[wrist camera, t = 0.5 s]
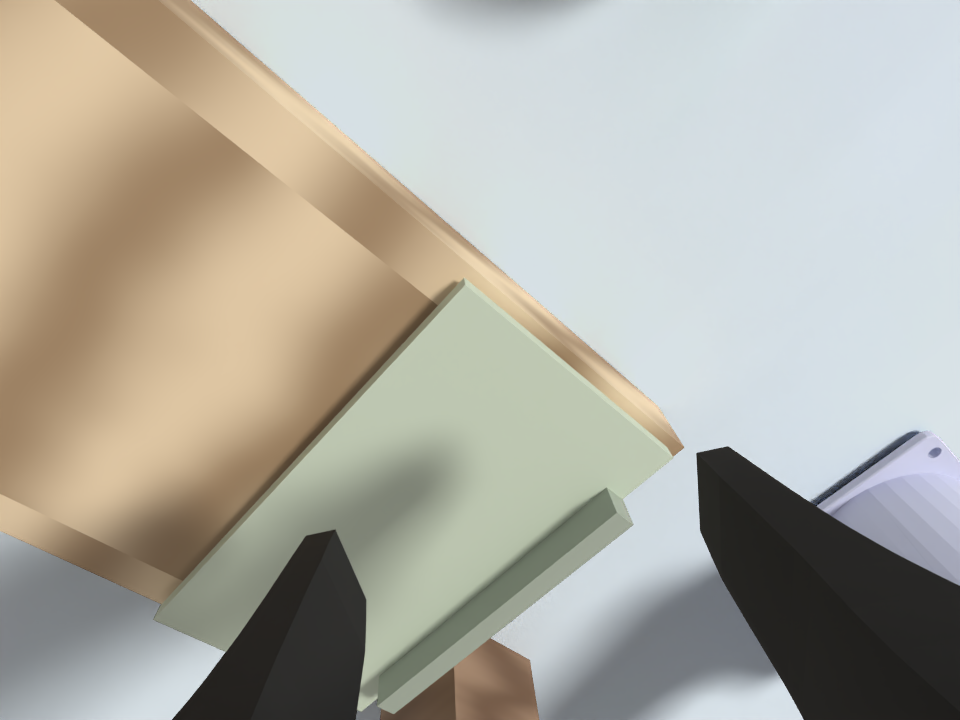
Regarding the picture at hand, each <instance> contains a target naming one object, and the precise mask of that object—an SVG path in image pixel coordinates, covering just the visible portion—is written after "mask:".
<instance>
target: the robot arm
mask: <svg viewBox="0 0 960 720" xmlns="http://www.w3.org/2000/svg"><path fill="white" fill-rule="evenodd" d="M697 474H698V494H699V515H700V531H701V534H702V536H703V538H704V540H705V543H706V545H707V547H708V550H709V552H710V554H711V557H712V559H713V561H714V563H715V565H716V567H717V570H718V572H719V574H720V576H721V578H722V580H723V582H724V584H725V585H726V587H727V589H728V591H729V592H730V594H731V596H732V597H733V599H734V601H735V602H736V604H737V606H738V607H739V609H740V611H741V613H742V614H743V616H744V618H745V619H746V621H747V623H748V624H749V626H750V628H751V629H752V631H753V633H754V634H755V636H756V638H757V639H758V641H759V643H760V644H761V646H762V648H763V649H764V651H765V653H766V654H767V656H768V658H769V659H770V661H771V663H772V664H773V666H774V668H775V669H776V671H777V673H778V674H779V676H780V678H781V679H782V681H783V683H784V684H785V686H786V688H787V689H788V691H789V693H790V695H791V697H792V699H793V700H794V702H795V704H796V706H797V708H798V710H799V711H800V713H801V715H802V717H803V719H804V720H960V461H959V459H958V458H957V457H956V456H955V455H954V454H953V453H952V451H951V450H950V449H949V448H948V447H947V446H946V444H945V443H944V442H943V441H942V440H941V439H940V438H939V437H938V436H937V435H935V434H934V433H933V432H931V431H924V432H920V433H918V434H917V435H915V436H914V437H912V438H911V439H910V440H908V441H907V442H905V443H904V444H903V445H901V446H900V447H898V448H897V449H896V450H894V451H893V452H891V453H890V454H889V455H887V456H886V457H884V458H883V459H882V460H880V461H879V462H877V463H876V464H875V465H873V466H872V467H870V468H869V469H868V470H866V471H865V472H863V473H862V474H861V475H859V476H858V477H856V478H855V479H854V480H852V481H851V482H849V483H848V484H847V485H845V486H844V487H842V488H841V489H840V490H838V491H837V492H835V493H834V494H833V495H831V496H830V497H828V498H827V499H826V500H824V501H823V502H821V503H820V504H819V505H817V506H815V505H813V504H812V503H810V502H809V501H807V500H806V499H804V498H803V497H801V496H800V495H798V494H797V493H795V492H794V491H792V490H791V489H789V488H788V487H786V486H785V485H783V484H782V483H780V482H779V481H777V480H776V479H774V478H773V477H772V476H770V475H769V474H767V473H766V472H764V471H763V470H761V469H760V468H759V467H757V466H756V465H754V464H753V463H751V462H750V461H749V460H747V459H746V458H744V457H743V456H741V455H740V454H738V453H737V452H735V451H734V450H732V449H731V448H730V447H723V448H718V449H713V450H709V451H704V452H699V453H697ZM365 644H366V597H365V595H364V593H363V591H362V588H361V586H360V584H359V582H358V579H357V577H356V575H355V573H354V570H353V568H352V566H351V563H350V561H349V559H348V557H347V554H346V552H345V550H344V548H343V545H342V543H341V541H340V539H339V536H338V534H337V532H336V529H335V530H330V531H326V532H321V533H316V534H311V535H307V536H305V538H304V539H303V541H302V542H301V544H300V545H299V546H298V548H297V549H296V551H295V552H294V554H293V555H292V557H291V558H290V560H289V561H288V563H287V564H286V566H285V567H284V569H283V570H282V572H281V573H280V575H279V576H278V578H277V580H276V581H275V583H274V584H273V586H272V587H271V589H270V590H269V592H268V593H267V595H266V596H265V598H264V599H263V600H262V602H261V603H260V605H259V606H258V608H257V609H256V611H255V612H254V614H253V615H252V616H251V618H250V619H249V621H248V622H247V624H246V625H245V627H244V628H243V629H242V631H241V632H240V634H239V635H238V637H237V638H236V639H235V641H234V642H233V643H232V645H231V646H230V647H229V649H228V650H227V651H226V653H225V654H224V655H223V657H222V658H221V659H220V661H219V662H218V663H217V665H216V666H215V667H214V669H213V670H212V671H211V673H210V674H209V675H208V677H207V678H206V679H205V681H204V682H203V683H202V684H201V686H200V687H199V688H198V689H197V691H196V692H195V693H194V694H193V695H192V697H191V698H190V699H189V700H188V701H187V703H186V704H185V705H184V706H183V708H182V709H181V710H180V711H179V712H178V713H177V714H176V716H175V717H174V718H173V719H172V720H356V713H357V706H358V700H359V693H360V686H361V679H362V672H363V665H364V657H365Z"/></svg>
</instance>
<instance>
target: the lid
mask: <svg viewBox="0 0 960 720" xmlns="http://www.w3.org/2000/svg"><path fill="white" fill-rule="evenodd" d="M672 459H673V456H672V455H671V453H670V451H669V450H668V448H667V447H666V446H665V445H664V444H663V443H662V442H661V441H659V440H658V439H657V438H656V437H655V436H653V435H652V434H651V433H650V432H649V431H647V430H646V429H645V428H644V427H643V426H641V425H640V424H639V423H638V422H637V421H635V420H634V419H633V418H632V417H631V416H629V415H628V414H627V413H626V412H625V411H623V410H622V409H621V408H620V407H619V406H617V405H616V404H615V403H614V402H613V401H612V400H610V399H609V398H608V397H607V396H606V395H604V394H603V393H602V392H601V391H600V390H598V389H597V388H596V387H595V386H594V385H592V384H591V383H590V382H589V381H588V380H586V379H585V378H584V377H583V376H582V375H580V374H579V373H578V372H577V371H576V370H574V369H573V368H572V367H571V366H570V365H568V364H567V363H566V362H565V361H564V360H563V359H561V358H560V357H559V356H558V355H557V354H555V353H554V352H553V351H552V350H551V349H549V348H548V347H547V346H546V345H545V344H543V343H542V342H541V341H540V340H539V339H537V338H536V337H535V336H534V335H533V334H531V333H530V332H529V331H528V330H527V329H525V328H524V327H523V326H522V325H521V324H519V323H518V322H517V321H516V320H515V319H514V318H512V317H511V316H510V315H509V314H508V313H506V312H505V311H504V310H503V309H502V308H500V307H499V306H498V305H497V304H496V303H494V302H493V301H492V300H491V299H490V298H488V297H487V296H486V295H485V294H484V293H482V292H481V291H480V290H479V289H478V288H476V287H475V286H474V285H473V284H472V283H470V282H469V281H468V280H467V279H466V278H465V277H464V278H463V279H462V280H461V281H460V282H459V283H458V284H457V286H456V287H455V288H454V289H453V290H452V291H451V292H450V293H449V294H448V295H447V296H446V297H445V299H444V300H443V301H442V302H441V303H440V304H439V305H438V306H437V307H436V308H435V309H434V310H433V311H432V313H431V314H430V315H429V316H428V317H427V318H426V319H425V320H424V321H423V322H422V323H421V324H420V326H419V327H418V328H417V329H416V330H415V331H414V332H413V333H412V334H411V335H410V336H409V337H408V338H407V340H406V341H405V342H404V343H403V344H402V345H401V346H400V347H399V348H398V349H397V350H396V351H395V353H394V354H393V355H392V356H391V357H390V358H389V359H388V360H387V361H386V362H385V363H384V364H383V365H382V367H381V368H380V369H379V370H378V371H377V372H376V373H375V374H374V375H373V376H372V377H371V378H370V380H369V381H368V382H367V383H366V384H365V385H364V386H363V387H362V388H361V389H360V390H359V391H358V393H357V394H356V395H355V396H354V397H353V398H352V399H351V400H350V401H349V402H348V403H347V404H346V405H345V407H344V408H343V409H342V410H341V411H340V412H339V413H338V414H337V415H336V416H335V417H334V418H333V420H332V421H331V422H330V423H329V424H328V425H327V426H326V427H325V428H324V429H323V430H322V431H321V432H320V434H319V435H318V436H317V437H316V438H315V439H314V440H313V441H312V442H311V443H310V444H309V445H308V447H307V448H306V449H305V450H304V451H303V452H302V453H301V454H300V455H299V456H298V457H297V458H296V459H295V461H294V462H293V463H292V464H291V465H290V466H289V467H288V468H287V469H286V470H285V471H284V472H283V474H282V475H281V476H280V477H279V478H278V479H277V480H276V481H275V482H274V483H273V484H272V485H271V486H270V488H269V489H268V490H267V491H266V492H265V493H264V494H263V495H262V496H261V497H260V498H259V499H258V501H257V502H256V503H255V504H254V505H253V506H252V507H251V508H250V509H249V510H248V511H247V512H246V513H245V515H244V516H243V517H242V518H241V519H240V520H239V521H238V522H237V523H236V524H235V525H234V526H233V528H232V529H231V530H230V531H229V532H228V533H227V534H226V535H225V536H224V537H223V538H222V539H221V540H220V542H219V543H218V544H217V545H216V546H215V547H214V548H213V549H212V550H211V551H210V552H209V553H208V555H207V556H206V557H205V558H204V559H203V560H202V561H201V562H200V563H199V564H198V565H197V566H196V567H195V569H194V570H193V571H192V572H191V573H190V574H189V575H188V576H187V577H186V578H185V579H184V580H183V582H182V583H181V584H180V585H179V586H178V587H177V588H176V589H175V590H174V591H173V592H172V593H171V594H170V596H169V597H168V598H167V599H166V600H165V601H164V602H163V603H162V604H161V605H160V607H159V609H158V611H157V613H156V615H155V617H154V619H153V620H155V621H157V622H159V623H162V624H164V625H166V626H168V627H171V628H173V629H175V630H177V631H180V632H182V633H184V634H186V635H189V636H191V637H193V638H195V639H198V640H200V641H202V642H205V643H207V644H209V645H211V646H214V647H216V648H218V649H220V650H223V651H225V652H226V651H227V650H228V649H229V647H230V646H231V645H232V643H233V642H234V641H235V639H236V638H237V637H238V635H239V634H240V632H241V631H242V629H243V628H244V627H245V625H246V624H247V622H248V621H249V619H250V618H251V616H252V615H253V614H254V612H255V611H256V609H257V608H258V606H259V605H260V603H261V602H262V600H263V599H264V598H265V596H266V595H267V593H268V592H269V590H270V589H271V587H272V586H273V584H274V583H275V581H276V580H277V578H278V576H279V575H280V573H281V572H282V570H283V569H284V567H285V566H286V564H287V563H288V561H289V560H290V558H291V557H292V555H293V554H294V552H295V551H296V549H297V548H298V546H299V545H300V544H301V542H302V541H303V539H304V538H305V536H307V535H311V534H316V533H321V532H326V531H330V530H335V529H336V532H337V534H338V536H339V539H340V541H341V543H342V545H343V548H344V550H345V552H346V554H347V557H348V559H349V561H350V563H351V566H352V568H353V570H354V573H355V575H356V577H357V579H358V582H359V584H360V586H361V588H362V591H363V593H364V595H365V597H366V644H365V657H364V665H363V672H362V679H361V686H360V693H359V700H358V706H357V710H358V711H361V712H362V711H363V710H364V709H365V708H367V707H368V706H369V705H370V704H371V703H373V702H374V701H375V700H376V699H377V707H379V708H381V709H383V710H385V711H388V712H390V713H392V714H395V713H396V712H397V711H399V710H400V709H401V708H402V707H404V706H405V705H406V704H407V703H409V702H410V701H411V700H412V699H414V698H415V697H416V696H417V695H419V694H420V693H421V692H423V691H424V690H425V689H426V688H428V687H429V686H430V685H431V684H433V683H434V682H435V681H436V680H438V679H439V678H440V677H442V676H443V675H444V674H445V673H447V672H448V671H449V670H450V669H452V668H453V667H454V666H455V665H457V664H458V663H459V662H461V661H462V660H463V659H464V658H466V657H467V656H468V655H469V654H471V653H472V652H473V651H474V650H476V649H477V648H478V647H480V646H481V645H482V644H483V643H485V642H486V641H487V640H488V639H490V638H491V637H492V636H493V635H495V634H496V633H497V632H499V631H500V630H501V629H502V628H504V627H505V626H506V625H507V624H509V623H510V622H511V621H512V620H514V619H515V618H516V617H517V616H519V615H520V614H521V613H523V612H524V611H525V610H526V609H528V608H529V607H530V606H531V605H533V604H534V603H535V602H536V601H538V600H539V599H540V598H542V597H543V596H544V595H545V594H547V593H548V592H549V591H550V590H552V589H553V588H554V587H555V586H557V585H558V584H559V583H561V582H562V581H563V580H564V579H566V578H567V577H568V576H569V575H571V574H572V573H573V572H574V571H576V570H577V569H578V568H580V567H581V566H582V565H583V564H585V563H586V562H587V561H588V560H590V559H591V558H592V557H593V556H595V555H596V554H597V553H599V552H600V551H601V550H602V549H604V548H605V547H606V546H607V545H609V544H610V543H611V542H612V541H614V540H615V539H616V538H617V537H619V536H620V535H621V534H623V533H624V532H625V531H626V530H628V529H629V528H630V527H631V526H633V523H632V520H631V518H630V516H629V513H628V511H627V508H626V506H625V504H624V501H623V499H624V498H625V497H626V496H627V495H628V494H630V493H631V492H632V491H633V490H635V489H636V488H637V487H638V486H640V485H641V484H642V483H643V482H644V481H646V480H647V479H648V478H649V477H651V476H652V475H653V474H654V473H656V472H657V471H658V470H659V469H660V468H662V467H663V466H664V465H665V464H667V463H668V462H669V461H670V460H672Z"/></svg>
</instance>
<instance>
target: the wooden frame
mask: <svg viewBox="0 0 960 720" xmlns="http://www.w3.org/2000/svg"><path fill="white" fill-rule="evenodd" d="M464 277H465V278H466V279H467V280H468V281H469V282H470V283H472V284H473V285H474V286H475V287H476V288H478V289H479V290H480V291H481V292H482V293H484V294H485V295H486V296H487V297H488V298H490V299H491V300H492V301H493V302H494V303H496V304H497V305H498V306H499V307H500V308H502V309H503V310H504V311H505V312H506V313H508V314H509V315H510V316H511V317H512V318H514V319H515V320H516V321H517V322H518V323H519V324H521V325H522V326H523V327H524V328H525V329H527V330H528V331H529V332H530V333H531V334H533V335H534V336H535V337H536V338H537V339H539V340H540V341H541V342H542V343H543V344H545V345H546V346H547V347H548V348H549V349H551V350H552V351H553V352H554V353H555V354H557V355H558V356H559V357H560V358H561V359H563V360H564V361H565V362H566V363H567V364H568V365H570V366H571V367H572V368H573V369H574V370H576V371H577V372H578V373H579V374H580V375H582V376H583V377H584V378H585V379H586V380H588V381H589V382H590V383H591V384H592V385H594V386H595V387H596V388H597V389H598V390H600V391H601V392H602V393H603V394H604V395H606V396H607V397H608V398H609V399H610V400H612V401H613V402H614V403H615V404H616V405H617V406H619V407H620V408H621V409H622V410H623V411H625V412H626V413H627V414H628V415H629V416H631V417H632V418H633V419H634V420H635V421H637V422H638V423H639V424H640V425H641V426H643V427H644V428H645V429H646V430H647V431H649V432H650V433H651V434H652V435H653V436H655V437H656V438H657V439H658V440H659V441H661V442H662V443H663V444H664V445H665V446H666V447H667V448H668V450H669V451H670V453H671V455H672V456H675V455H676V454H677V453H678V452H679V451H681V450H682V449H683V448H684V446H683V445H682V443H681V442H680V440H679V438H678V437H677V435H676V434H675V432H674V431H673V429H672V427H671V426H670V424H669V423H668V421H667V420H666V418H665V417H664V415H663V413H662V412H661V410H660V409H659V407H658V406H657V405H656V404H655V403H653V402H652V401H651V400H650V399H649V398H648V397H647V396H645V395H644V394H643V393H642V392H641V391H640V390H638V389H637V388H636V387H635V386H634V385H633V384H632V383H630V382H629V381H628V380H627V379H626V378H625V377H624V376H622V375H621V374H620V373H619V372H618V371H617V370H615V369H614V368H613V367H612V366H611V365H610V364H609V363H607V362H606V361H605V360H604V359H603V358H602V357H600V356H599V355H598V354H597V353H596V352H595V351H594V350H592V349H591V348H590V347H589V346H588V345H587V344H586V343H584V342H583V341H582V340H581V339H580V338H579V337H577V336H576V335H575V334H574V333H573V332H572V331H571V330H569V329H568V328H567V327H566V326H565V325H564V324H563V323H561V322H560V321H559V320H558V319H557V318H556V317H554V316H553V315H552V314H551V313H550V312H549V311H548V310H546V309H545V308H544V307H543V306H542V305H541V304H539V303H538V302H537V301H536V300H535V299H534V298H533V297H531V296H530V295H529V294H528V293H527V292H526V291H525V290H523V289H522V288H521V287H520V286H519V285H518V284H516V283H515V282H514V281H513V280H512V279H511V278H510V277H508V276H507V275H506V274H505V273H504V272H503V271H502V270H500V269H499V268H498V267H497V266H496V265H495V264H493V263H492V262H491V261H490V260H489V259H488V258H487V257H485V256H484V255H483V254H482V253H481V252H480V251H478V250H477V249H476V248H475V247H474V246H473V245H472V244H470V243H469V242H468V241H467V240H466V239H465V238H464V237H462V236H461V235H460V234H459V233H458V232H457V231H455V230H454V229H453V228H452V227H451V226H450V225H449V224H447V223H446V222H445V221H444V220H443V219H442V218H441V217H439V216H438V215H437V214H436V213H435V212H434V211H432V210H431V209H430V208H429V207H428V206H427V205H426V204H424V203H423V202H422V201H421V200H420V199H419V198H418V197H416V196H415V195H414V194H413V193H412V192H411V191H409V190H408V189H407V188H406V187H405V186H404V185H403V184H401V183H400V182H399V181H398V180H397V179H396V178H394V177H393V176H392V175H391V174H390V173H389V172H388V171H386V170H385V169H384V168H383V167H382V166H381V165H380V164H378V163H377V162H376V161H375V160H374V159H373V158H371V157H370V156H369V155H368V154H367V153H366V152H365V151H363V150H362V149H361V148H360V147H359V146H358V145H357V144H355V143H354V142H353V141H352V140H351V139H350V138H348V137H347V136H346V135H345V134H344V133H343V132H342V131H340V130H339V129H338V128H337V127H336V126H335V125H333V124H332V123H331V122H330V121H329V120H328V119H327V118H325V117H324V116H323V115H322V114H321V113H320V112H319V111H317V110H316V109H315V108H314V107H313V106H312V105H310V104H309V103H308V102H307V101H306V100H305V99H304V98H302V97H301V96H300V95H299V94H298V93H297V92H296V91H294V90H293V89H292V88H291V87H290V86H289V85H287V84H286V83H285V82H284V81H283V80H282V79H281V78H279V77H278V76H277V75H276V74H275V73H274V72H272V71H271V70H270V69H269V68H268V67H267V66H266V65H264V64H263V63H262V62H261V61H260V60H259V59H258V58H256V57H255V56H254V55H253V54H252V53H251V52H249V51H248V50H247V49H246V48H245V47H244V46H243V45H241V44H240V43H239V42H238V41H237V40H236V39H235V38H233V37H232V36H231V35H230V34H229V33H228V32H226V31H225V30H224V29H223V28H222V27H221V26H220V25H218V24H217V23H216V22H215V21H214V20H213V19H212V18H210V17H209V16H208V15H207V14H206V13H205V12H203V11H202V10H201V9H200V8H199V7H198V6H197V5H195V4H194V3H193V2H192V1H191V0H0V531H2V532H4V533H6V534H8V535H10V536H13V537H15V538H17V539H19V540H21V541H24V542H26V543H28V544H30V545H32V546H35V547H37V548H39V549H41V550H43V551H46V552H48V553H50V554H52V555H54V556H57V557H59V558H61V559H63V560H65V561H68V562H70V563H72V564H74V565H76V566H79V567H81V568H83V569H85V570H87V571H90V572H92V573H94V574H96V575H98V576H101V577H103V578H105V579H107V580H109V581H111V582H114V583H116V584H118V585H120V586H122V587H125V588H127V589H129V590H131V591H133V592H136V593H138V594H140V595H142V596H144V597H147V598H149V599H151V600H153V601H155V602H158V603H160V604H162V603H163V602H164V601H165V600H166V599H167V598H168V597H169V596H170V594H171V593H172V592H173V591H174V590H175V589H176V588H177V587H178V586H179V585H180V584H181V583H182V582H183V580H184V579H185V578H186V577H187V576H188V575H189V574H190V573H191V572H192V571H193V570H194V569H195V567H196V566H197V565H198V564H199V563H200V562H201V561H202V560H203V559H204V558H205V557H206V556H207V555H208V553H209V552H210V551H211V550H212V549H213V548H214V547H215V546H216V545H217V544H218V543H219V542H220V540H221V539H222V538H223V537H224V536H225V535H226V534H227V533H228V532H229V531H230V530H231V529H232V528H233V526H234V525H235V524H236V523H237V522H238V521H239V520H240V519H241V518H242V517H243V516H244V515H245V513H246V512H247V511H248V510H249V509H250V508H251V507H252V506H253V505H254V504H255V503H256V502H257V501H258V499H259V498H260V497H261V496H262V495H263V494H264V493H265V492H266V491H267V490H268V489H269V488H270V486H271V485H272V484H273V483H274V482H275V481H276V480H277V479H278V478H279V477H280V476H281V475H282V474H283V472H284V471H285V470H286V469H287V468H288V467H289V466H290V465H291V464H292V463H293V462H294V461H295V459H296V458H297V457H298V456H299V455H300V454H301V453H302V452H303V451H304V450H305V449H306V448H307V447H308V445H309V444H310V443H311V442H312V441H313V440H314V439H315V438H316V437H317V436H318V435H319V434H320V432H321V431H322V430H323V429H324V428H325V427H326V426H327V425H328V424H329V423H330V422H331V421H332V420H333V418H334V417H335V416H336V415H337V414H338V413H339V412H340V411H341V410H342V409H343V408H344V407H345V405H346V404H347V403H348V402H349V401H350V400H351V399H352V398H353V397H354V396H355V395H356V394H357V393H358V391H359V390H360V389H361V388H362V387H363V386H364V385H365V384H366V383H367V382H368V381H369V380H370V378H371V377H372V376H373V375H374V374H375V373H376V372H377V371H378V370H379V369H380V368H381V367H382V365H383V364H384V363H385V362H386V361H387V360H388V359H389V358H390V357H391V356H392V355H393V354H394V353H395V351H396V350H397V349H398V348H399V347H400V346H401V345H402V344H403V343H404V342H405V341H406V340H407V338H408V337H409V336H410V335H411V334H412V333H413V332H414V331H415V330H416V329H417V328H418V327H419V326H420V324H421V323H422V322H423V321H424V320H425V319H426V318H427V317H428V316H429V315H430V314H431V313H432V311H433V310H434V309H435V308H436V307H437V306H438V305H439V304H440V303H441V302H442V301H443V300H444V299H445V297H446V296H447V295H448V294H449V293H450V292H451V291H452V290H453V289H454V288H455V287H456V286H457V284H458V283H459V282H460V281H461V280H462V279H463V278H464Z"/></svg>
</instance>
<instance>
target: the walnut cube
mask: <svg viewBox="0 0 960 720" xmlns="http://www.w3.org/2000/svg"><path fill="white" fill-rule="evenodd" d="M380 720H539V715H538V709H537V703H536V697H535V690H534V684H533V678H532V671H531V665H530V660H529V659H527V658H525V657H523V656H521V655H520V654H518V653H516V652H514V651H512V650H511V649H509V648H507V647H505V646H503V645H501V644H500V643H498V642H496V641H494V640H492V639H491V638H490V639H488V640H487V641H486V642H485V643H483V644H482V645H481V646H480V647H478V648H477V649H476V650H474V651H473V652H472V653H471V654H469V655H468V656H467V657H466V658H464V659H463V660H462V661H461V662H459V663H458V664H457V665H455V666H454V667H453V668H452V669H450V670H449V671H448V672H447V673H445V674H444V675H443V676H442V677H440V678H439V679H438V680H436V681H435V682H434V683H433V684H431V685H430V686H429V687H428V688H426V689H425V690H424V691H423V692H421V693H420V694H419V695H417V696H416V697H415V698H414V699H412V700H411V701H410V702H409V703H407V704H406V705H405V706H404V707H402V708H401V709H400V710H399V711H397V712H396V713H395V714H392V713H390V712H388V711H385V710H383V709H381V717H380Z"/></svg>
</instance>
